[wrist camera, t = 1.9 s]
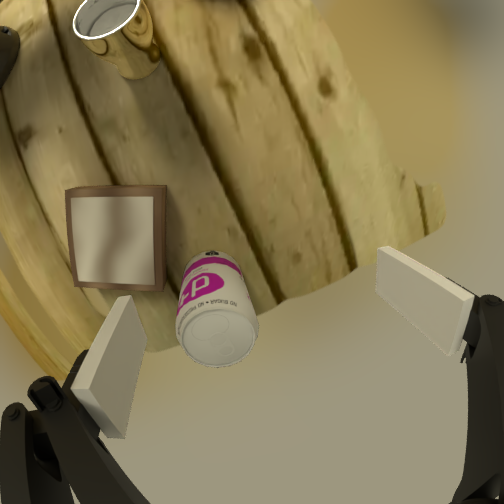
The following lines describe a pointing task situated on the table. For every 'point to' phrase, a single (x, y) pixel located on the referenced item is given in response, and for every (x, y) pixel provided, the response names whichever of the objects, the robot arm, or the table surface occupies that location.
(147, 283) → the base
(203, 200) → the table surface
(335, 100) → the table surface
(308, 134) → the table surface
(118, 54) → the metal tumbler
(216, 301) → the supplement can
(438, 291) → the robot arm
